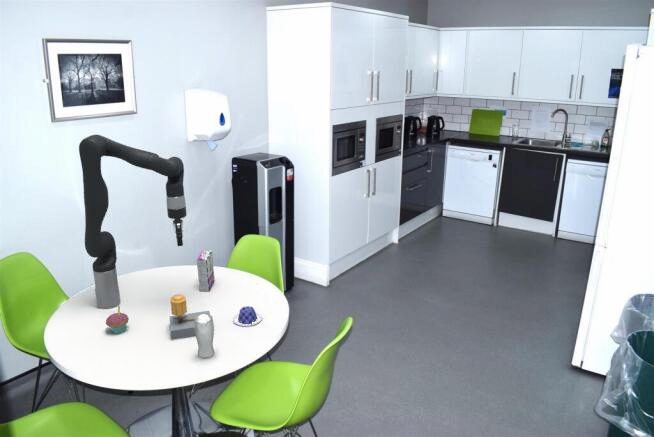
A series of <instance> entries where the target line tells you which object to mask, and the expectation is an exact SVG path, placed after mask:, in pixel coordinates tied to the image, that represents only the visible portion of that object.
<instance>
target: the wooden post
mask: <svg viewBox="0 0 654 437" xmlns="http://www.w3.org/2000/svg"><path fill="white" fill-rule="evenodd" d="M177 320H178V323H182V322H183V317H182V315H179V316H177Z"/></svg>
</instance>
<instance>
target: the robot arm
mask: <svg viewBox="0 0 654 437" xmlns="http://www.w3.org/2000/svg"><path fill="white" fill-rule="evenodd" d="M78 152H79V153H78V154H79V159H80V165H81V169H82V170H81V172H82V183H83V187H82V188H83V204H84V217H85V218H84V219H85V220H84V222H85V226H84V227H85V228H84V229H85V230H84V248H85V251H86V253H87V254H88V255H89V256H90V257H91V258H96V259H95V260H94V261H93V263H92V273H93V279H94V280H93V281H94V292H95V298H96V299H95V300H96V306H97V309H112V308H116V307H118V306H120V304H121V295H120V289H119V288H120V287H119V280H118V272H117V265H116V263H117V259H118V258H117V246H116V241H115V238H114V236H113V234H112V233H111V232H109V231H107V230H106V231H105V230H102V225H103V222H104V219H105V216H106V215H107V212H108V210H109V189H108V186H107V184H106V182H105V179H104V177H103V175H102V157H111V158H116V159H120V160H122V161H124V162H127V163H128V164H130V165H131V166H134V167H137V168H140V169H145V170H149V171H152V172H155V173H157V174H159V175H161V176H164V177H167V181H166V183H165V192H166V209H167V210H166V211H167V217H168V218H169V219H171V220H172V225H173V229H174V233H175V237H176V243H177V247H183V245H184V241H183V237H184V235H183V232H184V227H183V226H184V221H183V219H184V218H186V217H187V204H186V196H185V189H184V177H185V176H184V175H185V166H184V163H183V161H182V159H181V158H180V157H178V156H170V157H169V158H164V157H161V156H160V155H159V154H158V153H155V152H151V151H148V150H144V149H143V150H142V149H141V148H136V147H132V146H130V145H129V146H128V145H126V144H123V143H120V142H117V141H115V140H112V139H110V138H108V137H107V136H103V135H100V134H92V135H89V136H87V137H84V138H83V139H81V141H80V143H79V145H78Z"/></svg>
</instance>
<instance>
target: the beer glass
mask: <svg viewBox="0 0 654 437" xmlns="http://www.w3.org/2000/svg"><path fill="white" fill-rule="evenodd" d="M194 330H195V336H194V337H195V339H196V343H197V347H198V348H197V350H198V351H197V356H198V357H199V358H200V359H210V358H212V357H213V356H214V355H215V350H214V336H215V326H214V318H213V316H212V315H211V314H210V315H209V314H201V315H198V316H196V317H195V318H194Z"/></svg>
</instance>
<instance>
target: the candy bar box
mask: <svg viewBox="0 0 654 437" xmlns="http://www.w3.org/2000/svg"><path fill="white" fill-rule="evenodd" d="M196 266H197V276H198V277H197V278H198V286H199V288H198V289H199V292H211V289H212V287H213V286H214V283H215V271H214V261H213V250H202V251H201V252H200V254H199V255H198V257H197V258H196Z"/></svg>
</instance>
